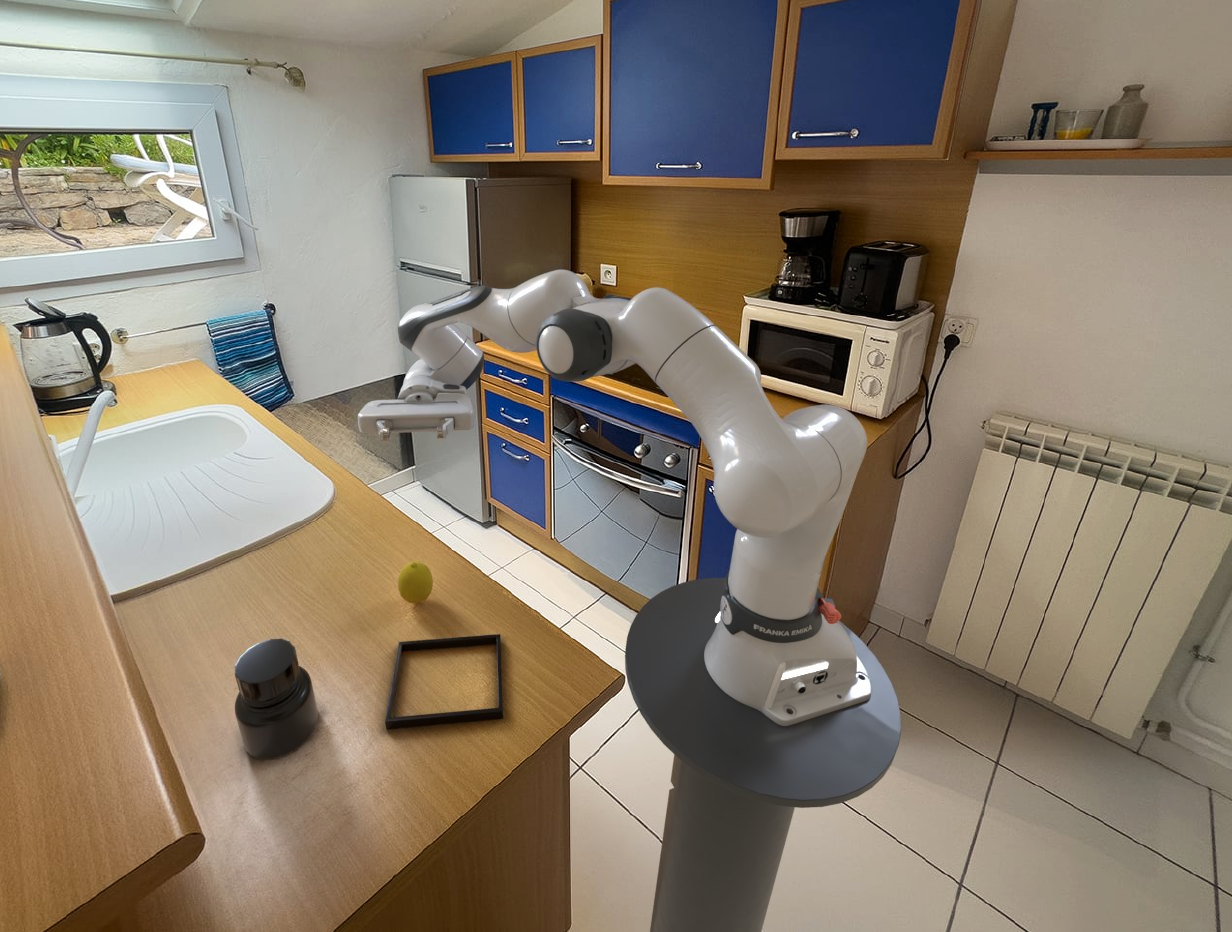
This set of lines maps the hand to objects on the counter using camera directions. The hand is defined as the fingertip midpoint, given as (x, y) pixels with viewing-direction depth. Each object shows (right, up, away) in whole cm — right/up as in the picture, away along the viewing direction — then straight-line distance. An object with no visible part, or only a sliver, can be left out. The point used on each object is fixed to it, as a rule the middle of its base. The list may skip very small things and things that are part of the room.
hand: (413, 436), depth 97 cm
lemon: (+1, -28, -1) cm, 28 cm away
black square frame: (+9, -34, -15) cm, 38 cm away
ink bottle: (-12, -36, -22) cm, 44 cm away
